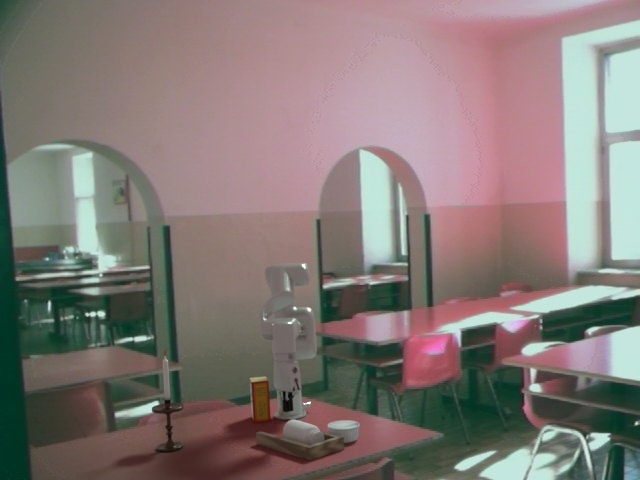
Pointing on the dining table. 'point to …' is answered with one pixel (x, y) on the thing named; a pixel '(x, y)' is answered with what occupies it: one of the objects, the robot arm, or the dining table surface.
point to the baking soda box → (260, 399)
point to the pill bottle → (302, 432)
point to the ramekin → (345, 429)
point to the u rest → (302, 445)
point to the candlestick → (168, 412)
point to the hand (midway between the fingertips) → (288, 411)
